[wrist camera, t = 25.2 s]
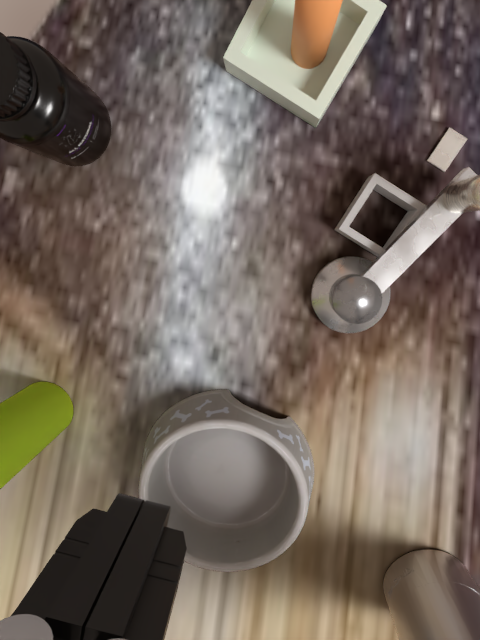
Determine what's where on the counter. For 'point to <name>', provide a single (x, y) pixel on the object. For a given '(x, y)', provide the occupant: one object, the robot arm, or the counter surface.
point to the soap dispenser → (30, 425)
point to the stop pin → (313, 30)
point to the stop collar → (390, 193)
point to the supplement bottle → (49, 106)
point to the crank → (404, 250)
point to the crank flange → (357, 265)
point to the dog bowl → (228, 480)
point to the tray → (276, 61)
